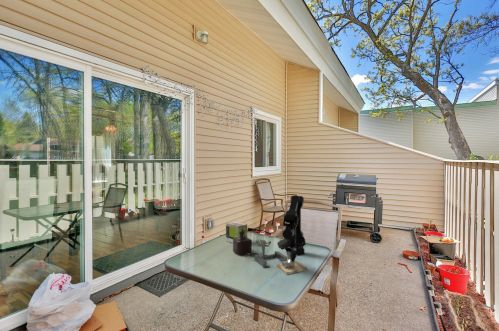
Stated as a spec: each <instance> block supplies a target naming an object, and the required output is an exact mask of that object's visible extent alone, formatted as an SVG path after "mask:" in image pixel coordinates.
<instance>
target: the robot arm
mask: <svg viewBox="0 0 499 331" xmlns="http://www.w3.org/2000/svg"><path fill="white" fill-rule="evenodd" d="M304 203H305V197H304V196H301V195H291V196H290V204H289V209H288V210H286V211H285V214H284V216H283V222H282V227H285V229H284V230H283V231H282V233H281V234H282V237H283V239H280V240H278V241H277V243H276V244H277V247H278V248H279V249H280V250H282V251H283V250H284V251H285V252H286V254H287V256H288V251H289V252H290V253H291V259H292V262H294V260H295V261H296V258H297V256H301V255H305V254H306V253H305V248H304V247H305V246H306V244H307V243H306V239H305V235H304V233H303V230H302V208H303V206H304ZM291 250H292V251H291Z"/></svg>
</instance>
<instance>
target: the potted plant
mask: <svg viewBox="0 0 499 331" xmlns="http://www.w3.org/2000/svg"><path fill="white" fill-rule="evenodd" d="M239 234H240V236H239V237H237V238H233V243H232V252H233V253H234V254H235V255H238V256H244V255H250V254H252V251H253V250H252V249H253V248H252V247H253V246H252V244H253V243H252V242H253V240H252V239H251V238H249V237H248V236H247V237H246V234H245V231H243V229H241V231H239ZM243 235H244V236H243Z"/></svg>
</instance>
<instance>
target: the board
mask: <svg viewBox="0 0 499 331" xmlns="http://www.w3.org/2000/svg"><path fill="white" fill-rule="evenodd" d="M275 267H276V268H277V269H278V270H280V271H281V272H282V273H283V274H286V275H291V274H295V273H300V272H304V271H308V267H306V266H305V265H303V264H302V263H300V262H299V261H297V260H295V265H294V266H290V267H283V266H282V262H281V263H279V264H278V263H277V264H275Z"/></svg>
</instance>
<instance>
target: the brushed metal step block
mask: <svg viewBox="0 0 499 331" xmlns="http://www.w3.org/2000/svg"><path fill="white" fill-rule="evenodd" d="M291 251H292V250H291ZM295 261H296V259H295V260H294V262H292V259H291V253H290V252H289V251H288V255H287V261H281V263H282V266H283V267H290V266H294V265H295Z"/></svg>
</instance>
